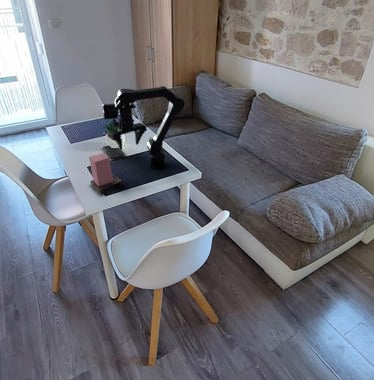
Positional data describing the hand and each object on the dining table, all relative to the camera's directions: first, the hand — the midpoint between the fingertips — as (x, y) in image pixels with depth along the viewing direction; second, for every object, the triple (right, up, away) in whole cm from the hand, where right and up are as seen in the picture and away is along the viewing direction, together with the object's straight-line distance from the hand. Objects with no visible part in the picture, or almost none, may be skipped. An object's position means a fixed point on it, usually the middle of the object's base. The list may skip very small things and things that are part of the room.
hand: (129, 147), depth 154 cm
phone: (-13, 0, +23) cm, 26 cm away
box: (-11, -17, -8) cm, 22 cm away
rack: (-9, -19, -6) cm, 22 cm away
